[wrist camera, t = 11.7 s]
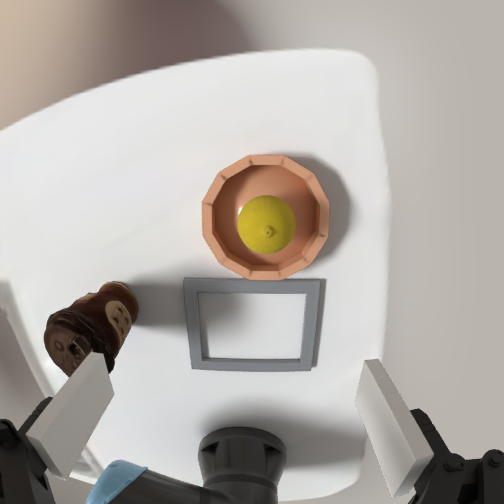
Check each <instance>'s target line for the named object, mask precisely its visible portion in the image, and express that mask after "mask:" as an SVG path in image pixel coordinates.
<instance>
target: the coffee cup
mask: <svg viewBox="0 0 504 504" xmlns="http://www.w3.org/2000/svg"><path fill="white" fill-rule="evenodd" d="M137 315H138V305H137V302H136V299H135V297H134V296H133V294H132V293H131V291H130V290H129V289H128V288H126V287H125V286H124V285H123V284H122V283H116V282H107V283H106V284H104V285H103V286H102V287H101V288H100V290H99V292H97V293H88V294H87V295H86V296H84V297H81V298H79V299H78V300H76V301H75V302H74V303H73V304H72V305H71V306H70V307H68V308H64V309H62V310H60V311H58V312H56V313H54V314H52V315H50V316H49V319H48V321H47V325H46V330H45V332H44V344H45V348H46V350H47V352H48V354H49V356H50V357H51V359H52V360H53V362H54V363H55V364H56V365H57V366H58V367H59V368H60V369H61V370H62V371H63V372H64V373H65V374H66V375H67V376H68V377H71V376H72V374H73V373H74V372H75V371H76V369H77V368H78V367H79V366H80V365H81V363H82V362H83V361H84V360H85V359H86V357H87V356H88V355H89V354H90V353H91V352H94V353H101V354H103V355H104V359H105V363H106V367H107V370H108V374H109V373H110V372H111V371H112V370H113V368H114V365H115V360H114V359H115V358H116V356H117V355H118V353H119V350H120V348H121V347H122V345H123V343H124V341H125V338H126V337H127V335H128V333H129V331H130V329H131V325H132V324H133V323H134V322H135V320H136V318H137Z"/></svg>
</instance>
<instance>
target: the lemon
mask: <svg viewBox="0 0 504 504" xmlns="http://www.w3.org/2000/svg"><path fill="white" fill-rule="evenodd" d="M237 227H238V232H239V235H240V237H241V239H242V241H243V242H244V244H245V245H246V246H247V247H248V248H250V249H251V250H253V251H254V252H257V253H260V254H273V253H276V252H279V251H281V250H282V249H284V248H285V247H286V246H287V245H288V244H289V243H290V242H291V240H292V238H293V236H294V233H295V228H296V222H295V217H294V214H293V211H292V210H291V208H290V206H289V205H288V204H287V203H286V202H285V201H283V200H282V199H280V198H278V197H275V196H271V195H262V196H258V197H255V198H253V199H251V200H250V201H248V202H247V203H246V204H245V205H244V206H243V208H242V210H241V211H240V214H239V217H238V226H237Z"/></svg>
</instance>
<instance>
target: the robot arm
mask: <svg viewBox="0 0 504 504" xmlns="http://www.w3.org/2000/svg"><path fill="white" fill-rule="evenodd" d="M113 396H114V391H113V388H112V384H111V381H110V377H109V374H108V370H107V367H106V363H105V359H104V355H103V354H101V353H94V352H91V353H90V354H89V355H88V356H87V357H86V359H85V360H84V361H83V362H82V363H81V365H80V366H79V367H78V368H77V369H76V371H75V372H74V373H73V374H72V376H71V377H70V378H69V379H68V380H67V382H66V383H65V384H64V385H63V387H62V388H61V389H60V390H59V392H58V393H57V394H56V395H55V397H54V398H53V397H48V398H46V399H44V400H43V401H42V402H40V404H39V405H38V406H37V407H36V410H34V411H33V413H32V415H30V416H29V417H28V419H27V420H26V421H25V422H24V424H23V425H22V426H21V428H20V429H19V430H18V431H17V430H16V428H15V427H14V425H13V423H12V422H11V421H10V420H7V419H0V504H55V501H54V498H53V494H52V491H51V488H50V485H49V482H48V478H47V476H46V474H45V471H46V469H47V468H48V469H49V471H50V472H51V474H52V475H53V476H56V477H58V478H61V479H63V480H67V478H68V477H69V475H70V473H71V471H72V469H73V467H74V466H75V464H76V462H77V460H78V458H79V456H80V454H81V453H82V451H83V449H84V447H85V445H86V443H87V442H88V440H89V438H90V436H91V434H92V433H93V431H94V429H95V427H96V425H97V424H98V422H99V420H100V418H101V417H102V415H103V413H104V411H105V410H106V408H107V406H108V404H109V403H110V401H111V399H112V398H113ZM355 403H356V406H357V408H358V411H359V413H360V416H361V418H362V421H363V423H364V426H365V428H366V431H367V433H368V436H369V439H370V441H371V444H372V446H373V449H374V451H375V454H376V457H377V459H378V462H379V465H380V467H381V470H382V473H383V475H384V478H385V481H386V484H387V486H388V489H389V492H390V495H391V497H392V498H393V497H397V496H401V495H404V494H407V493H409V492H410V490H411V489H412V487H413V486H414V487H415V490H416V494H415V495H414V496H413V498H412V499H411V500H410V502H409V503H408V504H504V453H503V452H502V451H500V450H496V449H493V450H489V451H488V452H486V453H485V455H484V456H483V457H482V458H481V459H471V460H465V459H464V458H463V457H462V456H460V455H458V454H455V453H451V452H450V451H449V449H448V448H447V446H446V445H445V443H444V441H443V440H442V438H441V436H440V434H439V433H438V431H437V430H436V428H435V426H434V425H433V424H432V422H431V420H430V418H429V417H428V415H427V414H426V413H424V412H423V411H422V410H420V409H414V410H409V409H408V407H407V406H406V404H405V402H404V400H403V399H402V397H401V395H400V394H399V392H398V390H397V389H396V387H395V385H394V384H393V382H392V381H391V379H390V377H389V375H388V374H387V372H386V371H385V369H384V367H383V366H382V364H381V362H380V361H379V359H372V360H364V364H363V369H362V373H361V378H360V382H359V386H358V390H357V394H356V398H355ZM198 461H199V465H200V469H201V474H202V478H203V482H204V484H203V487H200V486H197V485H193V484H190V483H187V482H183V481H180V480H177V479H174V478H171V477H168V476H165V475H162V474H159V473H156V472H154V471H151V470H148V468H147V467H141V466H138V465H135V464H133V463H130V462H127V461H124V460H116V461H113V462H112V463H110V464H109V465H108V466H107V468H106V469H105V470H104V472H103V473H102V474H101V476H100V477H99V479H98V481H97V482H96V484H95V485H94V487H93V489H92V491H91V493H90V494H89V496H88V498H87V500H86V503H85V504H278V496H277V486H278V483H279V481H280V478H281V475H282V473H283V470H284V467H285V464H286V449H285V446H284V444H283V442H282V441H281V440H280V439H279V438H277V437H276V436H274V435H272V434H270V433H268V432H265V431H262V430H258V429H253V428H245V427H233V428H225V429H220V430H217V431H214V432H212V433H210V434H208V435H207V436H205V437H204V438H203V439H202V441H201V443H200V446H199V451H198Z"/></svg>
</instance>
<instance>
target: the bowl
mask: <svg viewBox="0 0 504 504" xmlns="http://www.w3.org/2000/svg"><path fill="white" fill-rule="evenodd" d="M262 195H271V196H275V197H278V198H280V199H282V200H283V201H285V202H286V203H287V204H288V205H289V206H290V208H291V210H292V211H293V214H294V217H295V222H296V228H295V233H294V236H293V238H292V240H291V242H290V243H289V244H288V245H287V246H286V247H285V248H284V249H282V250H281V251H279V252H276V253H273V254H260V253H257V252H254V251H253V250H251V249H250V248H248V247H247V246H246V245H245V244H244V242H243V241H242V239H241V237H240V235H239V232H238V227H237V226H238V217H239V214H240V211H241V210H242V208H243V206H244V205H245V204H246V203H247V202H248V201H250V200H251V199H253V198H255V197H258V196H262ZM329 211H330V203H329V201H328V199H327V197H326V195H325V194H324V192H323V190H322V188H321V186H320V184H319V182H318V180H317V178H316V177H315V175H314V173H312V172H311V171H309V170H307V169H306V168H304V167H303V166H301V165H299V164H298V163H296V162H294V161H293V160H291V159H289V158H288V157H286V156H284V155H248V156H246V157H244V158H242V159H241V160H239V161H237V162H235V163H234V164H232V165H230V166H229V167H227V168H225V169H223V170H222V171H220V172H219V173H218V174H217V176H216V178H215V179H214V181H213V183H212V185H211V187H210V188H209V190H208V192H207V194H206V196H205V197H204V199H203V201H202V232H203V237H204V239H205V241H206V242H207V244H208V246H209V247H210V249H211V250H212V252H213V254H214V255H215V257H216V258H217V260H218V262H219V263H221V265H223V266H224V267H226V268H228V269H230V270H232V271H233V272H235V273H237V274H239V275H241V276H242V277H244V278H246V279H249V280H283V279H285V278H287V277H288V276H290V275H292V274H294V273H296V272H298V271H300V270H302V269H303V268H305V267H307V266H309V265H310V264H311V263H312V261H313V260H314V258H315V257H316V255H317V254H318V252H319V251H320V249H321V248H322V246H323V244H324V243H325V241H326V240H327V238H328V230H329Z"/></svg>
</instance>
